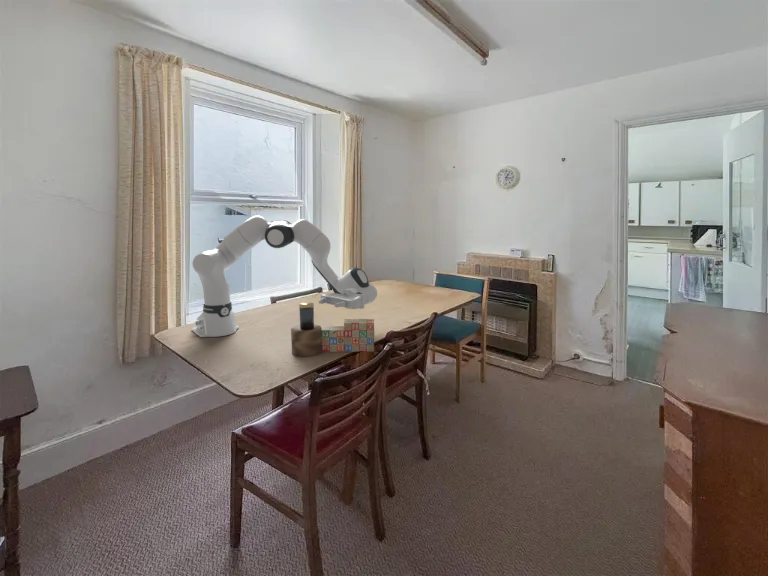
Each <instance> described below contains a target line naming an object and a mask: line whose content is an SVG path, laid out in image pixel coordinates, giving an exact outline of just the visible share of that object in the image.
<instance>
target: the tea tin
mask: <svg viewBox="0 0 768 576" xmlns="http://www.w3.org/2000/svg"><path fill="white" fill-rule="evenodd" d="M314 306H315V305H314V303H313V302H308V301H307V302H301V303H300V302H299V304H298V309H299V325H300V329H301V330H312V329H314V324H315V312H314V308H315V307H314Z"/></svg>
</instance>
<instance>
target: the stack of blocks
mask: <svg viewBox="0 0 768 576" xmlns="http://www.w3.org/2000/svg"><path fill="white" fill-rule="evenodd" d="M321 328H322V353H323V352H326V353H327V352H331V353H333V352H335V353H336V352H344V353H345V352H348V353H349V352H375V319H374V318H344V321H343V325H323V326H322V327H321Z"/></svg>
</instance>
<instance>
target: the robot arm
mask: <svg viewBox="0 0 768 576" xmlns="http://www.w3.org/2000/svg"><path fill="white" fill-rule="evenodd" d="M262 241H265V242H266V244H267V245H268V246H270V247H271V248H274V249H281V248H282V249H283V248H285V247H287V246H288V245H291V244H292V243H297V244H298V245H300V246H301V247H302V248H303V249H304V250H305V251H306V252H307V253H308V255H309V257H310V258H311V263H312V265H313V267H314V269H316V271H317V272H318V273H319V274H320V276H321V278H323V279H324V280H325V281H326V283H327V285H329V286H330V288H331V289H332V291H333V292H330V293H329V292H327V293H322V294H320V299H319V300H318V304H319V305H323V304H326V305H331V306H334V307H335V308H346V309H350V310H358V309H365V306H367V305H369V304H372V303H373V302H375V300H376V299H377V296H378V290H377V288H376V287H375V285H373V284H371V282H369V280H368V279H369V278H368V276H367V274H366V272H365V271H364V270H363V269H361V268H359V267H352V268H350V269H349V270H348V271H346V272H345V273H344V274H343V275H342V276H340V277H339V276H338V275H337V274H336V273H335V271H334V270H333V269H332V268H331V265H329V263H328V257H329V254H330V251H331V242H330V239H329V238H328V237H327V236H326V234H324V232H322V230H320V228H318V227H317V226H316V225H315V224H313V223H311V222H310V221H309V220H307V219H304V218H302V219H301V218H300V219H298V220H297V221H295V222H294V223H291V222H290V221H288V220H284V219H279V220H275V221H274V220H272V221H270V222H268V221H267V220H266V219H265V218H264V216H262V215H261V216H260V215H254V216H252V217H249V218H248V219H246V220H245V221H243V222H242V223H240V224H239V225H237V226H236V227H235V228H234V229H233V230H231V231H230V232H229V233H228V234H227V235H225V236H224V238H223V240H221V242H220V243H219V244H218V245H217V246H215V247H214V248H212V249H209V250H204V251H201V252H199V253H197V255H195V256H194V258H193V259H192V260H193V261H192V267H193V270H194V271H195V272H196V273H197V274H198V277H199V279H200V282H201V285H202V291H203V299H204V303H202V312H201V313H200V315H199V316H198V317H196V320H195V321H194V322H195V327H194V326H193V327H192V328H191V331H192V332H193V333H194V334H195V335H197V336H198V337H199V338H208V337H211V338H214V337H215V338H217V337H225V336H228V335H232V334H234V333H236V332H237V330H238V329H240V327H239V325H237V322H236V321H237V320H236V315H235V312H234V311H233V303H232V301H231V290H230V284H229V283H228V282H227V280H226V277H225V273H224V272H226V271H228V270H229V269H230V268H232V266H233V265H235V264H236V263H237V262H238V261H239V260H240V259H241V258H242V257H243V256H244V255H245V254H246V253H248V252H249V251H250V250H252V249H253V248H254V247H256V246H257V245H258V244H259V243H261V242H262Z"/></svg>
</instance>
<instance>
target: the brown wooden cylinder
mask: <svg viewBox="0 0 768 576" xmlns="http://www.w3.org/2000/svg"><path fill="white" fill-rule="evenodd" d="M322 328H323V327H322V326H321V325H319V324H315V323H314V329H312V330H301V329H300V324H298V325H294V326H292V327H291V328H290V333H291V334H290V335H291V338H290V339H291V355H293V356H295V357H298V358H311V357H316V356H319V355H320V354H322V353H323V352H322Z"/></svg>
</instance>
